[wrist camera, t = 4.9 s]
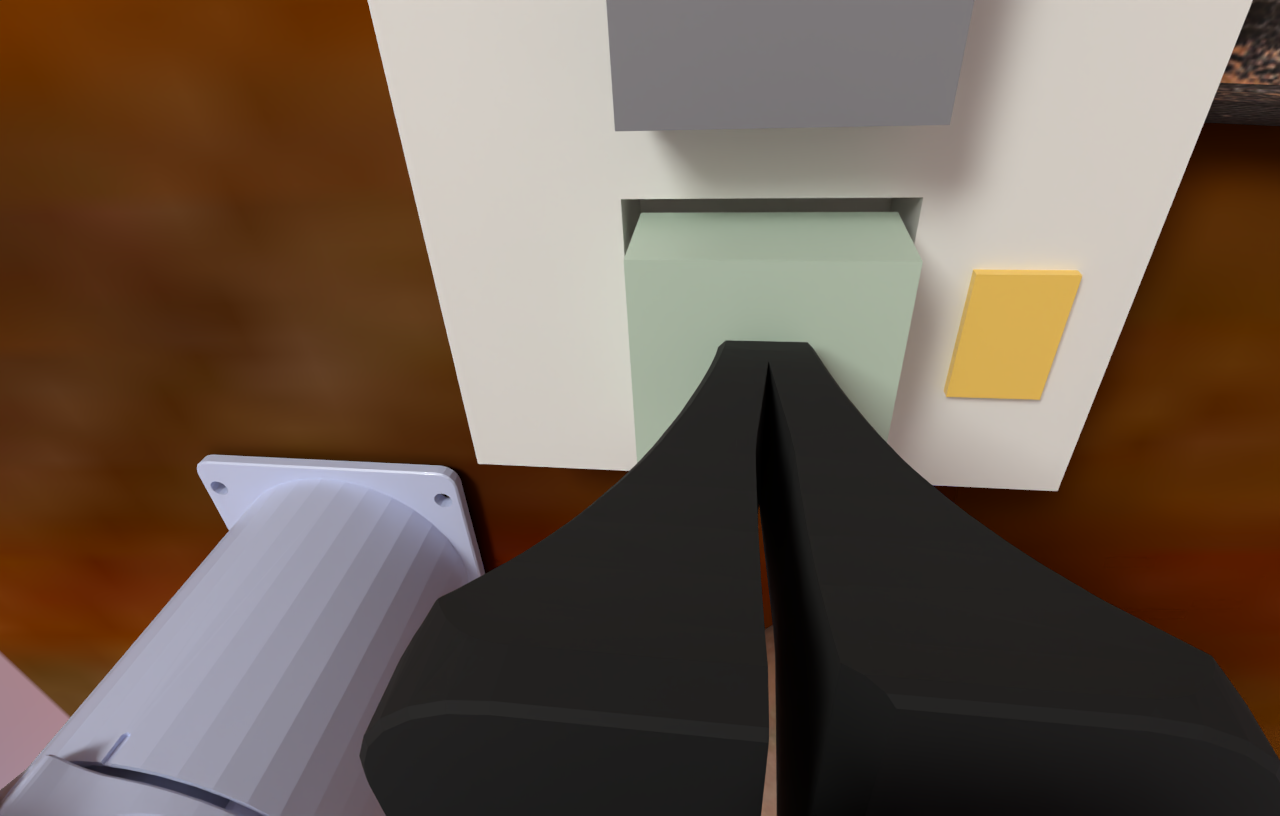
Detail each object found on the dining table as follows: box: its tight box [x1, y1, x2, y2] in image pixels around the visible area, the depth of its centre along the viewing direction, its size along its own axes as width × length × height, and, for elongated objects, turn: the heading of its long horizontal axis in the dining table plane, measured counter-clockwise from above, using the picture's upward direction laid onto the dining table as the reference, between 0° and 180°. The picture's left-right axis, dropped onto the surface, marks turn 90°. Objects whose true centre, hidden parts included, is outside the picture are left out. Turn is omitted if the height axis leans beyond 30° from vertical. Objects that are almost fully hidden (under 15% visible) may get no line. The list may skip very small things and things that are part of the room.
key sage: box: [624, 212, 923, 463], centre depth 12 cm, size 4×4×2 cm
